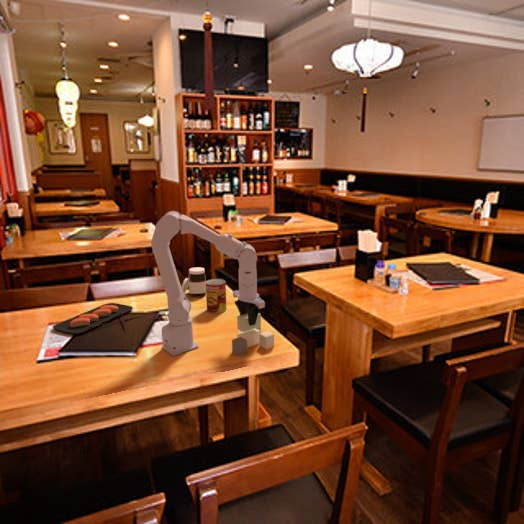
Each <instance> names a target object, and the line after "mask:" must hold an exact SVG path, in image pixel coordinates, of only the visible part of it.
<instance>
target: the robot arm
mask: <svg viewBox="0 0 524 524" xmlns="http://www.w3.org/2000/svg"><path fill="white" fill-rule="evenodd" d="M154 226H155V227H154V232H153V235H152V237H151V241H150V245H151V249H152V252H153V255H154V260H155V262H156V264H157V268H158V271H159V274H160V277H161V281H162V284H163V288H164V291H165V294H166V296H167V297H166V298H167V308H168V314H167V316H168V317H167V318H168V321H169V322H168V323H167V324H164V325H163V326H162V328H161V340H162V341H161V342H162V345H161V348H162V349H163V350H165V351H166V352H167V353H169V354H170V355H171V356H176V355H179V354H183V353H185V352H188V351H191V350H195V349H197V348H198V349H199V345H198V344H197V343H195V342H194V333H193V319H192V317H191V316H190V312H191V309H192V303H191V302H190V300H189V299H188V298H187V297H186V294H185V293H186V292H183V291H182V288H181V286H182V284H181V283H180V279H179V274H178V273H177V270H176V265H175V263H174V259H173V256H172V253H171V249H170V245H169V243H170V242H171V240H172V239H173V237H175V236H176V235H177V234H178V233H179V231H180V234H181V235H185V234H193V235H195V236H197V237H199V238H201V239H203V240H206V241H207V242H209V243H211V244H214V246H215V249H216V250H217V251H219V252H220V253H222V254H224V255H225V256H228V257H230V258H231V259H233V260H237V261H238V266H239V268H238V290H233V291H232V298H235V299H236V298H237V300H235V301H234V304H235V306H236V308H237V310H238V313H239V316H240V315H243V314H246V313H247V314H248V321H249V325H250V326H252V325H255V324H256V320H257V316H258V313H260V311H261V309H264V308H265V307H266V303H265V301H264V299H262V298H261V297H260V294H259V293H258V288H257V287H258V284H257V283H258V280H257V279H258V278H257V277H258V276H257V273H258V272H257V271H258V270H257V261H258V255H257V252H256V250H255V248H254V247H253V246H252V245H251V244H250V243H247V242H246V241H240V240H239V239H237V238H235V237H234V235H233V234H231V233H222V234H219V233H217V232H215V231H214V230H212V229H210V228H209V227H207V226H205V225H203V224H201V223H200V222H198V221H197V220H195V219H194V218H191V217H190V216H187V215H185V214H181V213H180V212H179V211H175V210H170V211H168V212H166V213H165V214H164V215H163V216H162V217H161V218H160V219H159V220H158V221H157V223H156V224H155V225H154Z"/></svg>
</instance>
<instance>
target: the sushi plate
mask: <svg viewBox="0 0 524 524" xmlns="http://www.w3.org/2000/svg"><path fill="white" fill-rule="evenodd" d="M133 309H134V307H133V306H131V305H127V304H123V303H117V302H116V303H115V302H109V303H105V304H102V305H100V306H97V307H95V308H92V309H89V310H87V311H85V312H82V313H80V314H78V315H76V316H73V317H71V318H68V319H66V320H64V321H61V322H59V323H56V324H55V325H53V326H52V329H54V330H55V331H58V332H62V333H67V334H70V335H71V334H72V335H79V334H83V333H86V332H88V331H90V330H92V329H94V328H96V326H97V327H101V326H105V325H112V324H115V323H121V322H122V326H123V329H124V334H125V337H128V335H129V334H128V331H127V329H126V325H125V321H126V322H127V321H130V320H135V319H139V318H142V317H145V316H147V314H142V315H139V316H133V317H129V318H125V319H123V321H122V319H121V320H117V321H112V320H114V319H115V318H118V317H121V316H122V317H123V315H124V314H126V313H129V312H130V311H132V310H133ZM122 313H123V314H122ZM106 314H110V315H106ZM119 314H121V315H119ZM98 315H104V316H98ZM117 315H119V316H117ZM115 316H117V317H115ZM113 317H115V318H113ZM97 318H98V319H97ZM112 318H113V319H112ZM94 319H97V320H94ZM108 319H109V320H108ZM110 319H111V320H110ZM90 320H91V321H90ZM106 320H107V321H106ZM104 321H106V322H104ZM110 321H112V322H110ZM102 322H104V323H102ZM101 323H102V324H101ZM99 324H100V325H101V326H100V325H99ZM104 324H105V325H104ZM95 325H96V326H95ZM86 329H87V331H86ZM88 329H89V330H88Z"/></svg>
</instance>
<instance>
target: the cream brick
mask: <svg viewBox="0 0 524 524" xmlns="http://www.w3.org/2000/svg"><path fill="white" fill-rule="evenodd" d="M259 334H260V331H259V330H257V329H252V330H249V331H246V332H243V331H240V332H238V333H236V335H237V337H236V338H239V337H242V338H244V339H245V340H247V349H248V348H250V347H253V346H256V345H260V340H259Z"/></svg>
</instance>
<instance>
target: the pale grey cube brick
mask: <svg viewBox="0 0 524 524" xmlns="http://www.w3.org/2000/svg"><path fill="white" fill-rule="evenodd" d="M259 340H260V343H259V347H261V348H262V349H265V350H269V349H271V348H274V347H275V334H274V333H272V332H271V331H268V330H266V331H263V332H261V333H260V334H259Z"/></svg>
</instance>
